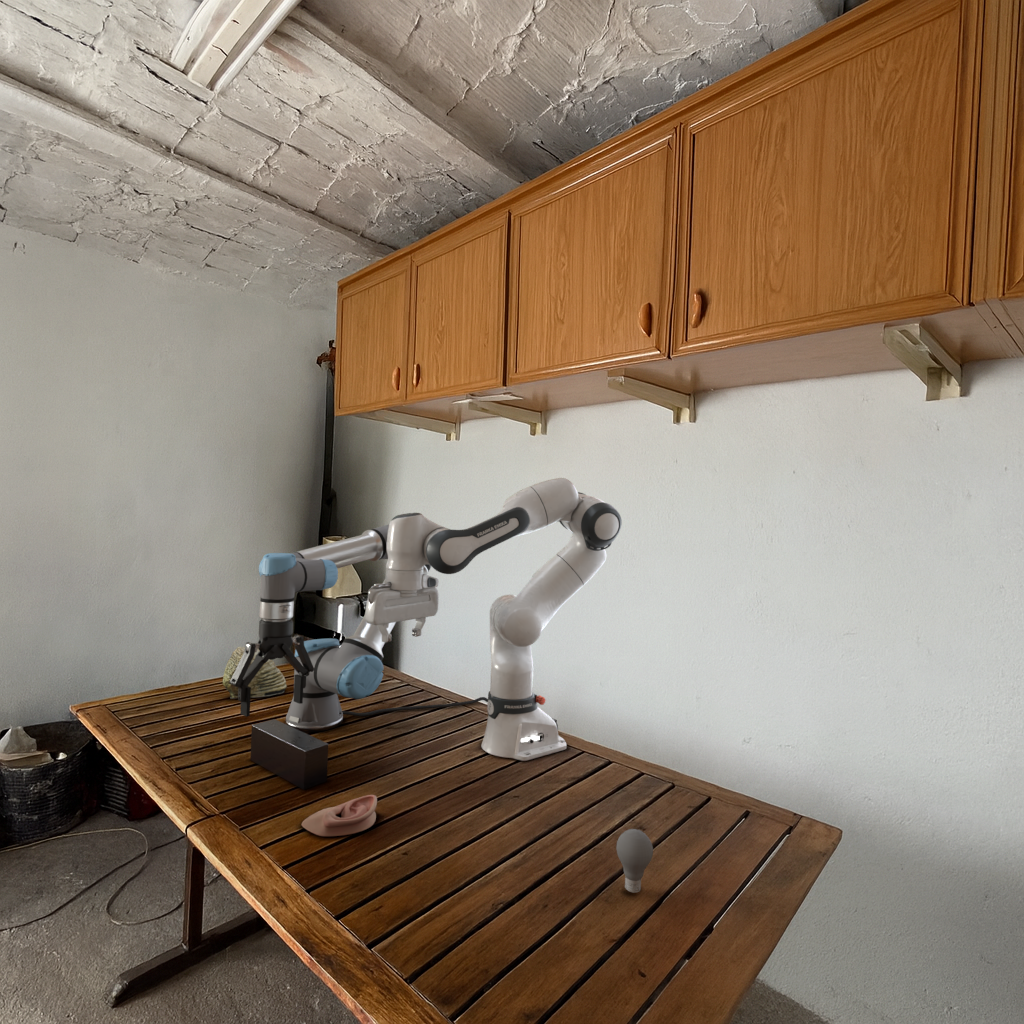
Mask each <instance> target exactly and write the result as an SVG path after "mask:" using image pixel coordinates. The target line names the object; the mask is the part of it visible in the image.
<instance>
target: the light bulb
mask: <svg viewBox="0 0 1024 1024" xmlns="http://www.w3.org/2000/svg"><path fill="white" fill-rule="evenodd" d="M615 849H616V854H617V857H618V859H619V861H620V863H621V865H622V867H623V873H624V874H623V875H624V876H625V878H624V888H625V890H627V891H628V892H630V893H634V894H635V893H639V892H640V891H641V889H642V887H641V886H642V879H643V877H644V875H645V871H646V868H647V867H648V866H649V864H650V863H651V861H652V859H653V855H654V847H653V843H652V841H651V838H649V836H648V835H647V834H646V833H645V832H643V831H642V830H641V829H636V828H629V829H627V830H625V831H623V832H622V833H621V834H620V835H619V837H618V839H617V841H616V847H615Z"/></svg>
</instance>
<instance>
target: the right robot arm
mask: <svg viewBox="0 0 1024 1024" xmlns="http://www.w3.org/2000/svg"><path fill="white" fill-rule="evenodd" d="M555 523H560V524H561V526H562V527H563V528H564V529H566V530H568V531H570V532H571V537H570V539H569V541H568V542H567V543H566V545H565V546H564V547H563V548H561V549H560V550H559V551H558V552H556V553H555V554H554V555H553V556H552V557H551V558H550V559H549V560H547V561H546V562H545V563H544V564H543V565H542V566H540V568H538V569H537V570H536V571H535V572H534V573H533V574H532V576H531V578H530V579H529V581H528V582H527V583H526V584H525V585H524V587H523V588H522V589H521V590H520V592H519V593H518V594H517V595H516V594H504V595H501V596H499V597H497V598H496V599H495V600H494V601H493V602H492V604H491V606H490V609H489V646H490V647H489V648H490V683H489V690H488V693H487V699H488V702H487V705H486V706H487V707H486V708H487V719H486V727H485V730H484V735H483V739H482V742H481V744H480V748H481V749H482V750H483V751H485V752H486V753H488V754H489V755H493V756H495V757H500V758H507V759H508V758H509V759H514V760H518V761H524V762H526V761H530V760H533V759H538V758H540V757H541V758H542V757H544V756H547V755H551V754H554V753H558V752H562V751H564V750H567V748H568V747H567V746H568V745H567V742H566V740H565V739H564V738H563V737H562V736H560V735H559V725H558V720H557V719H555V718H553V717H551V716H550V715H549V714H548V713H546V712H545V711H544V710H543V709H542V708H540V707H539V706H538V704H539V705H540V706H543V705H544V704H545V703H546V701H547V699H546V698H545V697H544V696H542V695H538V694H537V693H534V692H533V688H534V687H533V686H534V685H533V683H534V659H533V652H532V645H534V644H535V643H536V642H537V641H538V640H539V638H540V636H541V634H542V631H543V630H544V629H545V627H547V625H548V624H549V622H550V621H551V620H552V619H553V617H554V616H555V615H556V613H557V612H558V611H560V609H561V607H563V606H564V604H565V603H567V602H568V601H569V600H570V599H571V598H572V597H573V596H574V595H575V594H577V593H578V592H579V590H581V589H582V588H583V587H584V586H585V585H586V584H587V583H588V582H589V581H590V580H592V579H593V577H594V576H595V575H596V574H597V573H598V572H599V570H600V569H601V568H602V566H603V565H604V564H605V562H606V561H607V551H606V550H607V549H608V548H610V547H611V545H612V543H613V542H614V541H615V540H616V538H617V537H618V535H619V534H620V531H621V529H622V524H623V521H622V517H621V514H620V512H618V510H617V509H616V508H615V507H614V506H613V505H612V504H610V503H607V502H606V501H604V500H603V499H600V498H598V497H596V496H592V495H588V494H586V493H583V492H580V491H578V490H577V488H576V485H574V483H573V482H572V481H571V480H570V479H568V478H564V477H556V478H552V479H548V480H544V481H540V482H538V483H534V484H532V485H529V486H527V487H525V488H523V489H521V490H519V491H517V492H515V493H513V494H512V495H510V496H509V497H507V498H506V499H505V501H504V502H503V505H502V508H501V509H500V511H499V512H498V513H497V514H496V515H494V516H492V517H489V518H487V519H486V520H483V521H481V522H478V523H477V524H474V525H471V526H469V527H468V528H464V529H451V528H447V527H446V526H442V525H441V524H439V523H436V522H434V521H432V520H430V519H428V517H426V516H424V515H423V514H422V513H420V512H408V513H401V514H397V515H395V516H394V517H392V518H391V520H390V521H389V524H388V525H389V528H388V535H387V554H388V559H387V562H386V564H385V577H384V580H385V583H383V582H382V583H380V582H379V583H374V584H373V585H372V586H371V587H370V588H369V589H368V591H367V601H366V604H365V610H364V611H365V612H364V615H365V620H366V622H367V623H369V624H372V625H378V628H379V630H380V632H381V634H382V642H385V644H387V643H390V642H392V638H393V637H392V633H390V634H389V633H388V631H387V628H388V627H389V623H393V622H396V623H399V622H405V621H410V620H415V621H416V624H415V626H414V627H413V628H412V629H411V636H412V637H416V638H417V637H421V636H422V629H423V628H424V625H425V623H426V620H427V619H426V618H428V617H435V616H436V615H437V613H438V611H439V601H440V599H439V590H438V589H437V588H438V586H439V582H440V581H439V579H438V578H437V577H434V576H431V575H428V574H427V575H426V574H423V567H424V565H426V564H430V565H431V568H433V569H434V570H435V571H436V572H438V573H441V574H444V575H454V574H457V573H459V572H461V571H463V570H464V569H465V568H466V567H467V566H468V565H469V564H470V563H471V562H472V561H473V560H474V559H475V558H476V557H477V556H478V555H480V554H481V553H483V552H486V551H487V550H489V549H491V548H493V547H495V546H497V545H499V544H502V543H504V542H505V541H508V540H510V539H513V538H516V537H519V536H523V535H528V534H531V533H534V532H537V531H539V530H540V531H541V530H543V529H545V528H546V527H549V526H551V525H553V524H555Z"/></svg>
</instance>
